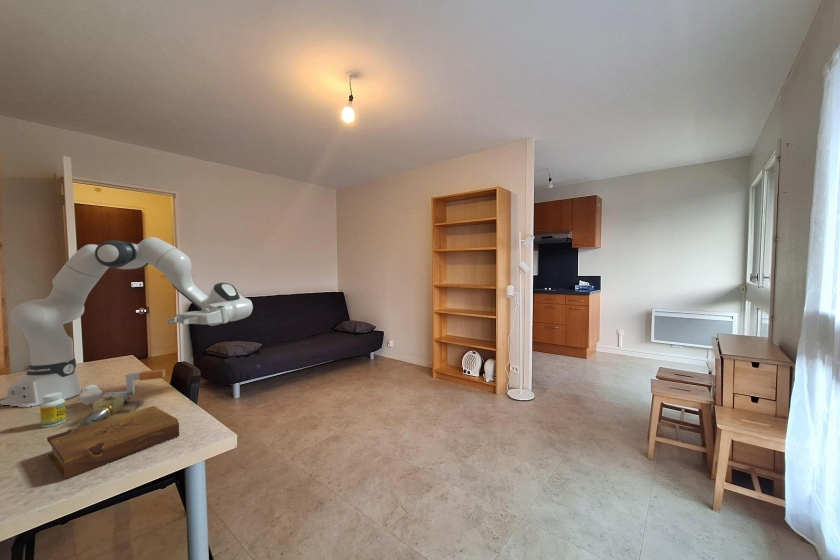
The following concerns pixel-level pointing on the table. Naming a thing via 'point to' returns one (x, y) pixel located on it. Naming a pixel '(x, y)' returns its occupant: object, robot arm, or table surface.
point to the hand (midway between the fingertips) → (175, 322)
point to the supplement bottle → (52, 410)
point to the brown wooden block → (110, 440)
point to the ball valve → (106, 408)
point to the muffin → (90, 394)
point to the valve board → (128, 408)
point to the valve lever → (131, 382)
